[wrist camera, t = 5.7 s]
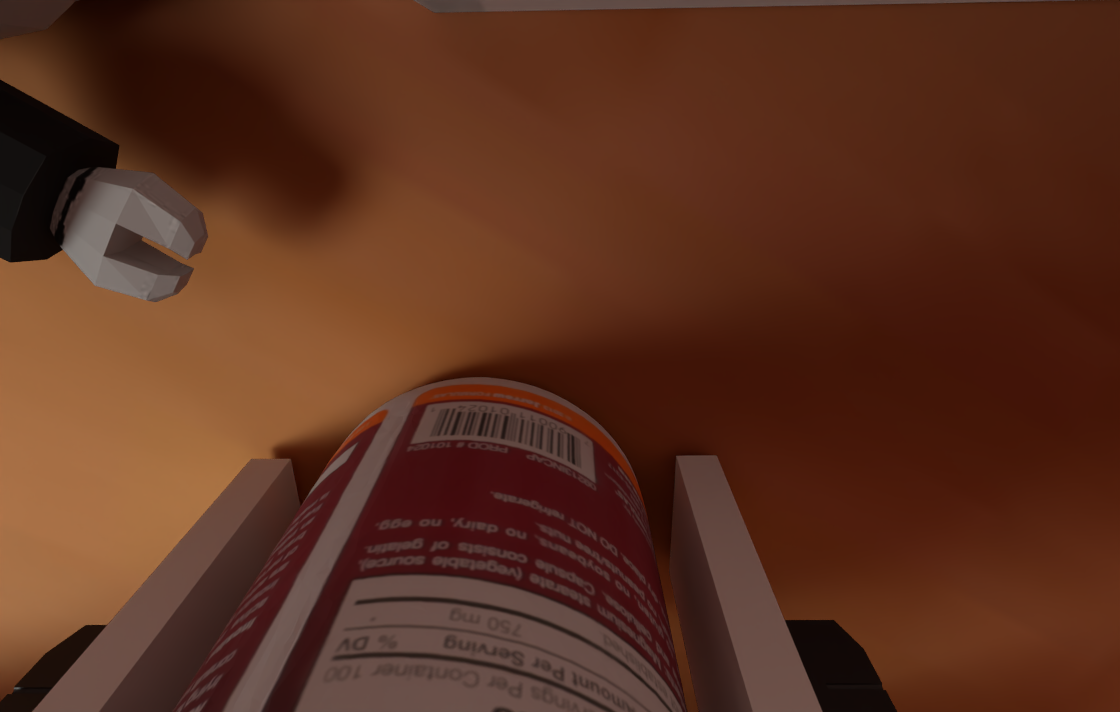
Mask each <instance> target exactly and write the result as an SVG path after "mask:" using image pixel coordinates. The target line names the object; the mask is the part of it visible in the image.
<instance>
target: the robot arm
mask: <svg viewBox="0 0 1120 712" xmlns="http://www.w3.org/2000/svg"><path fill="white" fill-rule="evenodd" d="M300 507H301V506H300V502H299V497H298V492H297V487H296V482H295V477H294V472H293V467H292V463H291V459H251V460H250V461H249V462H248V463H247V464H246V466H245V467H244V468H243V469H242V470H241V471H240V472H239V474H238V475H237V476H236V477H235V478H234V479H233V481H232V482H231V483H230V484H229V485H228V486H227V487H226V489H225V490H224V491H223V492H222V493H221V494H220V496H219V497H218V498H217V499H216V500H215V501H214V502H213V504H212V505H211V506H210V507H209V508H208V509H207V511H206V512H205V513H204V514H203V515H202V516H201V517H200V519H199V520H198V521H197V522H196V523H195V524H194V526H193V527H192V528H191V529H190V530H189V531H188V532H187V534H186V535H185V536H184V537H183V538H182V539H181V541H180V542H179V543H178V544H177V545H176V546H175V547H174V549H173V550H172V551H171V552H170V553H169V554H168V556H167V557H166V558H165V559H164V560H163V561H162V563H161V564H160V565H159V566H158V567H157V568H156V569H155V571H154V572H153V573H152V574H151V575H150V576H149V578H148V579H147V580H146V581H145V582H144V583H143V584H142V586H141V587H140V588H139V589H138V590H137V591H136V593H135V594H134V595H133V596H132V597H131V598H130V599H129V601H128V602H127V603H126V604H125V605H124V606H123V608H122V609H121V610H120V611H119V612H118V613H117V614H116V616H115V617H114V618H113V619H112V620H111V621H110V623H109V624H108V625H85V626H84V627H82V628H81V629H80V630H78V631H77V632H75V633H74V634H73V635H71V636H70V637H68V638H67V639H65V640H64V641H63V642H61V643H60V644H58V645H57V646H56V647H54V648H53V649H51V650H50V651H48V652H47V653H46V654H45V655H44V656H43V657H42V658H41V659H40V660H39V661H38V662H37V663H36V664H35V665H34V666H33V667H32V669H31V670H30V671H29V672H28V673H27V674H26V675H25V676H24V677H23V678H22V679H21V680H20V681H19V682H18V684H17V685H16V686H15V687H14V691H13V693H12V694H7V695H6V696H5V697H4V699H3V700H2V701H1V702H0V712H172V711H173V710H174V708H175V707H176V705H177V703H178V702H179V700H180V699H181V697H182V696H183V694H184V692H185V691H186V689H187V688H188V686H189V684H190V683H191V681H192V680H193V678H194V676H195V675H196V673H197V672H198V670H199V668H200V667H201V665H202V664H203V662H204V660H205V659H206V657H207V656H208V654H209V652H210V651H211V649H212V648H213V646H214V644H215V643H216V641H217V640H218V638H219V636H220V635H221V633H222V632H223V630H224V628H225V627H226V625H227V624H228V622H229V621H230V619H231V617H232V616H233V614H234V613H235V611H236V610H237V608H238V606H239V605H240V603H241V602H242V600H243V598H244V597H245V595H246V593H247V592H248V590H249V589H250V587H251V585H252V584H253V582H254V581H255V579H256V578H257V576H258V574H259V573H260V571H261V570H262V568H263V567H264V565H265V563H266V562H267V560H268V558H269V557H270V555H271V553H272V552H273V550H274V548H275V547H276V545H277V544H278V542H279V541H280V539H281V538H282V536H283V534H284V533H285V531H286V529H287V528H288V526H289V525H290V523H291V522H292V520H293V518H294V517H295V515H296V513H297V511H298V510H299V508H300ZM669 574H670V578H671V583H672V588H673V593H674V597H675V602H676V607H677V611H678V616H679V621H680V626H681V630H682V635H683V640H684V644H685V649H686V654H687V659H688V663H689V668H690V673H691V677H692V682H693V687H694V692H695V696H696V701H697V706H698V710H699V712H897V711H896V709H895V707H894V705H893V703H892V701H891V699H890V697H889V696H888V694H887V692H886V690H883V688H882V682H881V681H880V679H879V677H878V675H877V673H876V671H875V669H874V667H873V666H872V664H871V662H870V660H869V658H868V656H867V654H866V652H865V651H864V649H863V648H862V647H861V646H860V645H859V644H858V643H857V642H856V641H855V640H854V639H853V638H852V637H851V636H850V635H849V634H848V633H847V632H846V631H845V630H844V629H843V628H842V627H840V626H839V625H838V624H837V623H836V622H835V621H834V620H784V617H783V615H782V613H781V610H780V608H779V605H778V603H777V600H776V598H775V596H774V593H773V591H772V588H771V586H770V583H769V581H768V579H767V576H766V574H765V571H764V569H763V567H762V564H761V562H760V559H759V557H758V554H757V552H756V550H755V547H754V545H753V542H752V540H751V537H750V535H749V533H748V530H747V528H746V525H745V523H744V520H743V518H742V516H741V513H740V511H739V508H738V506H737V503H736V501H735V499H734V496H733V494H732V491H731V489H730V487H729V484H728V482H727V479H726V477H725V474H724V472H723V470H722V467H721V465H720V462H719V460H718V457H717V455H699V456H676V466H675V482H674V498H673V515H672V531H671V547H670V563H669Z"/></svg>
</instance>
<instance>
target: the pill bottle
mask: <svg viewBox="0 0 1120 712" xmlns="http://www.w3.org/2000/svg"><path fill="white" fill-rule="evenodd" d="M172 712H687V709H686V704H685V699H684V694H683V688H682V683H681V679H680V674H679V669H678V665H677V660H676V655H675V650H674V645H673V640H672V635H671V630H670V625H669V620H668V615H667V610H666V606H665V601H664V596H663V591H662V586H661V582H660V577H659V572H658V568H657V562H656V557H655V552H654V547H653V542H652V537H651V532H650V527H649V521H648V516H647V512H646V508H645V504H644V501H643V497H642V494H641V491H640V488H639V485H638V482H637V479H636V476H635V474H634V472H633V469H632V467H631V465H630V463H629V461H628V460H627V458H626V456H625V454H624V453H623V451H622V450H621V449H620V447H619V446H618V444H617V443H616V441H615V440H614V439H613V438H612V437H611V436H610V434H609V433H608V432H607V431H606V430H605V429H604V428H603V427H602V426H601V425H600V424H599V423H598V422H597V421H595V420H594V419H593V418H592V417H591V416H589V415H588V414H587V413H586V412H584V411H583V410H581V409H580V408H578V407H577V406H575V405H573V404H572V403H570V402H568V401H567V400H565V399H563V398H561V397H559V396H557V395H555V394H553V393H551V392H548V391H546V390H543V389H541V388H538V387H535V386H532V385H528V384H525V383H521V382H516V381H512V380H505V379H499V378H489V377H468V378H459V379H451V380H444V381H440V382H436V383H432V384H428V385H425V386H422V387H418V388H416V389H413V390H411V391H408V392H406V393H403V394H401V395H399V396H397V397H395V398H393V399H392V400H390V401H388V402H386V403H385V404H383V405H382V406H380V407H379V408H378V409H376V410H375V411H373V412H372V413H371V414H370V415H369V416H367V417H366V418H365V419H364V420H363V421H362V422H361V423H360V424H359V425H358V426H357V427H356V428H355V429H354V430H353V431H352V432H351V434H350V435H349V436H348V437H347V439H346V440H345V441H344V442H343V444H342V445H341V446H340V448H339V449H338V450H337V452H336V453H335V454H334V455H333V457H332V458H331V459H330V461H329V462H328V464H327V465H326V467H325V469H324V470H323V472H322V473H321V475H320V477H319V479H318V480H317V482H316V484H315V485H314V486H313V488H312V489H311V491H310V493H309V494H308V496H307V498H306V499H305V501H304V502H303V504H302V505H301V507H300V508H299V510H298V511H297V513H296V515H295V517H294V518H293V520H292V522H291V523H290V525H289V526H288V528H287V529H286V531H285V533H284V534H283V536H282V538H281V539H280V541H279V542H278V544H277V545H276V547H275V548H274V550H273V552H272V553H271V555H270V557H269V558H268V560H267V562H266V563H265V565H264V567H263V568H262V570H261V571H260V573H259V574H258V576H257V578H256V579H255V581H254V582H253V584H252V585H251V587H250V589H249V590H248V592H247V593H246V595H245V597H244V598H243V600H242V602H241V603H240V605H239V606H238V608H237V610H236V611H235V613H234V614H233V616H232V617H231V619H230V621H229V622H228V624H227V625H226V627H225V628H224V630H223V632H222V633H221V635H220V636H219V638H218V640H217V641H216V643H215V644H214V646H213V648H212V649H211V651H210V652H209V654H208V656H207V657H206V659H205V660H204V662H203V664H202V665H201V667H200V668H199V670H198V672H197V673H196V675H195V676H194V678H193V680H192V681H191V683H190V684H189V686H188V688H187V689H186V691H185V692H184V694H183V696H182V697H181V699H180V700H179V702H178V703H177V705H176V707H175V708H174V710H173V711H172Z"/></svg>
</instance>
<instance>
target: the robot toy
mask: <svg viewBox="0 0 1120 712" xmlns="http://www.w3.org/2000/svg"><path fill="white" fill-rule="evenodd" d="M75 1H79V0H0V39H3V38H8V37H12V36H17V35H22V34H27V33H31V32H36V31H41V30H46V29H47V28H48V27H49V26H50V25H52V24H53V23H54V22H55V21H56V20H57V19H58V18H59V17H60V16H61V15H62V14H63V13H64V12H65V11H66V10H67V9H68V8H69V7H70V6H71V5H72V4H73V3H74V2H75ZM118 151H119V145H118V144H116V143H114V142H113V141H111V140H109V139H107V138H105V137H103V136H102V135H100V134H98V133H96V132H94V131H93V130H91V129H89V128H87V127H85V126H83V125H82V124H80V123H78V122H76V121H74V120H73V119H71V118H69V117H67V116H65V115H64V114H62V113H60V112H58V111H56V110H54V109H53V108H51V107H49V106H47V105H45V104H44V103H42V102H40V101H38V100H36V99H34V98H33V97H31V96H29V95H27V94H25V93H24V92H22V91H20V90H18V89H16V88H15V87H13V86H11V85H9V84H7V83H5V82H4V81H2V80H0V258H2V259H4V260H6V261H8V262H22V261H33V260H45V259H48V258H50V257H52V256H53V255H55V254H57V253H58V252H60V251H62V250H64V251H65V252H66V253H67V255H68V256H69V257H70V258H71V259H72V260H73V261H74V262H75V264H76V265H77V266H78V267H79V268H80V269H81V270H82V272H83V273H84V274H85V275H86V276H87V277H88V278H89V279H90V281H91V282H92V283H93V284H94V285H95V286H98V287H102V288H105V289H109V290H112V291H116V292H119V293H123V294H126V295H130V296H133V297H137V298H140V299H144V300H147V301H152V302H157V301H160V300H163V299H165V298H168V297H170V296H173V295H176V294H178V293H179V292H180V291H181V290H182V289H183V288H184V287H185V286H186V285H187V283H188V281H189V278H190V276H191V274H192V272H193V269H194V268H192V267H189V266H187V265H184V264H182V263H180V262H178V261H176V260H175V259H173V258H171V257H169V256H168V255H166V254H164V253H162V252H161V251H159V250H157V249H156V248H154V247H152V246H150V245H149V244H147V243H145V242H143V241H142V237H145V238H147V239H150V240H152V241H154V242H156V243H158V244H160V245H162V246H164V247H167V248H169V249H170V250H172V251H174V252H175V253H177V254H179V255H180V256H182V257H184V258H185V259H187V260H188V259H189V258H190V257H192V256H193V255H195V254H197V253H201V251H202V249H203V247H204V245H205V242H206V240H207V238H208V234H207V230H206V225H205V221H204V217H203V213H202V212H201V211H200V210H198V209H197V208H196V207H195V206H193V205H192V204H191V203H190V202H188V201H187V200H186V199H185V198H184V197H182V196H181V195H180V194H179V193H177V192H176V191H175V190H174V189H172V188H171V187H170V186H169V185H168V184H166V183H165V182H164V181H163V180H161V179H160V178H159V177H158V176H156V175H155V174H154V173H150V172H140V171H130V170H121V169H116V164H117V157H118Z"/></svg>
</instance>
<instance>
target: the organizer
mask: <svg viewBox="0 0 1120 712" xmlns="http://www.w3.org/2000/svg"><path fill="white" fill-rule="evenodd" d="M414 1H416V2H417V3H419V4H421V5H422V6H424V7H426V8H427V9H429V10H431V11H432V12H434V13H436V12H489V11H542V10H595V9H648V8H701V7H755V6H808V5H861V4H914V3H967V2H1020V1H1073V0H414Z"/></svg>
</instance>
